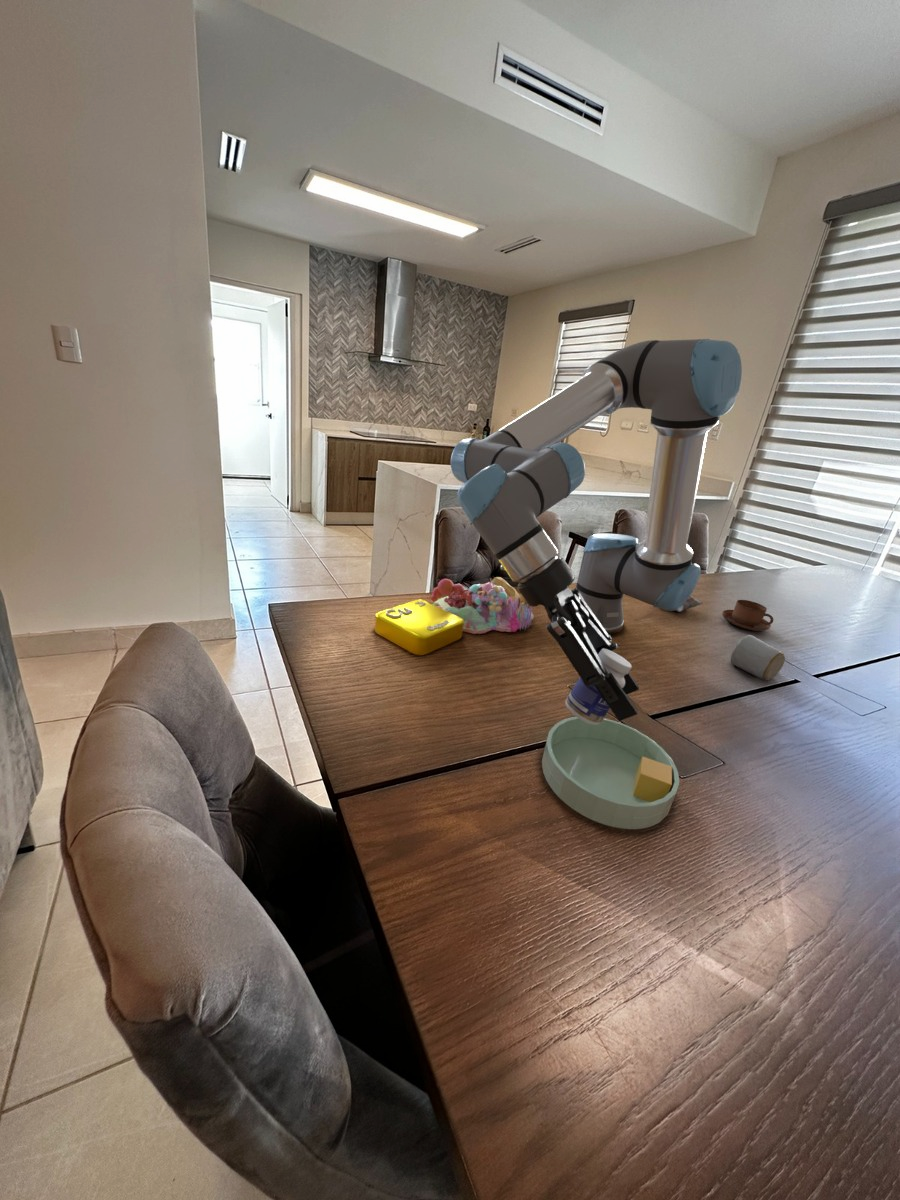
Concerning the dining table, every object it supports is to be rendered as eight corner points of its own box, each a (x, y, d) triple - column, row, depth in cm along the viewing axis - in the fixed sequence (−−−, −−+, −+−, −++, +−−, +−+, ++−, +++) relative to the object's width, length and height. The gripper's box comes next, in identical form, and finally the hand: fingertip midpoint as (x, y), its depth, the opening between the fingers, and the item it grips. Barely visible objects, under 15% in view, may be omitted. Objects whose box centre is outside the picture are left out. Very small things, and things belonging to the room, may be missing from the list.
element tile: (419, 658, 95) (421, 637, 93) (370, 630, 104) (371, 611, 102) (465, 637, 106) (468, 618, 104) (418, 614, 115) (419, 596, 113)
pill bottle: (591, 730, 65) (628, 670, 62) (557, 704, 68) (592, 646, 65) (605, 722, 69) (640, 666, 67) (573, 698, 72) (606, 644, 70)
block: (633, 795, 66) (640, 773, 64) (634, 777, 69) (642, 756, 68) (663, 807, 64) (671, 784, 63) (663, 788, 68) (671, 766, 66)
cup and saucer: (768, 625, 135) (776, 605, 132) (768, 639, 125) (777, 618, 123) (721, 612, 140) (729, 593, 138) (718, 624, 130) (726, 604, 128)
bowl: (516, 766, 69) (521, 742, 68) (587, 725, 81) (593, 703, 79) (625, 857, 57) (635, 830, 55) (692, 793, 68) (702, 769, 67)
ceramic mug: (762, 685, 101) (776, 654, 98) (725, 666, 107) (737, 636, 104) (785, 676, 106) (799, 646, 104) (749, 658, 113) (761, 630, 110)
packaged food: (699, 610, 139) (704, 595, 137) (678, 617, 132) (683, 601, 130) (672, 600, 145) (676, 585, 143) (650, 606, 138) (655, 590, 136)
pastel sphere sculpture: (480, 589, 134) (484, 559, 131) (549, 620, 120) (556, 586, 116) (415, 609, 117) (418, 574, 114) (487, 647, 103) (493, 609, 99)
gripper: (531, 565, 75) (611, 681, 77) (496, 605, 59) (599, 752, 60) (571, 540, 72) (654, 663, 73) (546, 575, 55) (654, 732, 57)
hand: (629, 703), depth 67 cm, fingers closed on pill bottle, 6 cm apart
